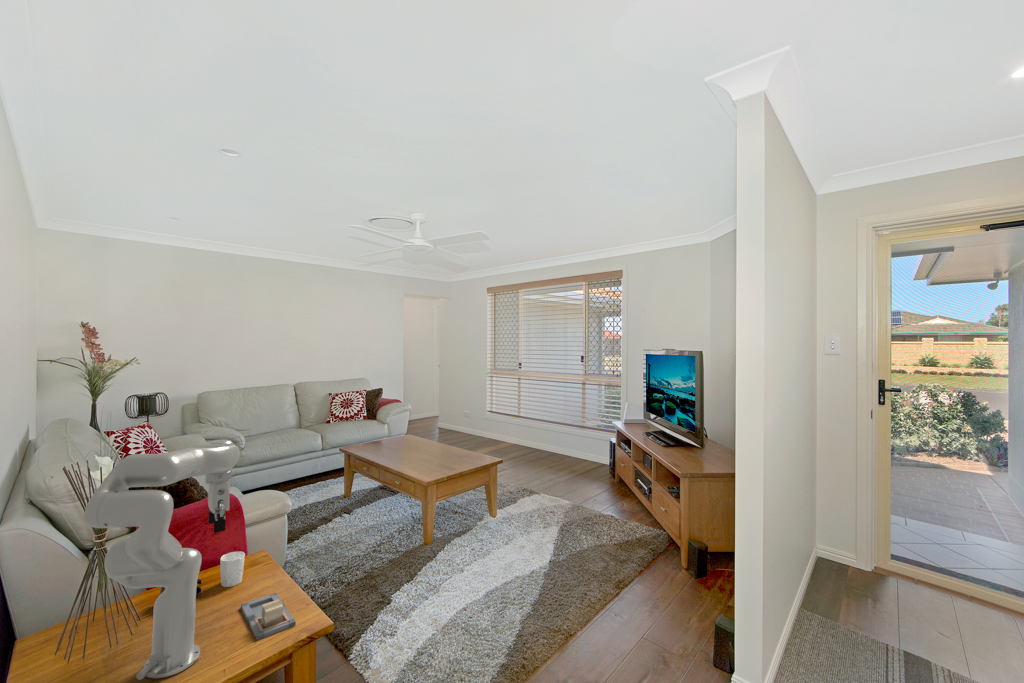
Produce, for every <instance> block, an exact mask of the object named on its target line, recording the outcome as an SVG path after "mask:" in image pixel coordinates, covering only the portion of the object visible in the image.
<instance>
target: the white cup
mask: <svg viewBox="0 0 1024 683" xmlns="http://www.w3.org/2000/svg"><path fill="white" fill-rule="evenodd" d="M245 557H246V553H245V552H244V551H231V552H227V553H226V554H223V555H221V557H220V558H219V559H220V560H219V561H220V580H221V581H220V586H221V587H222V588H223V587H224V588H229V587H230V588H231V587H234V586H237V585H239V584H240V583H241V582H243V575H244V570H245V569H244V567H245Z"/></svg>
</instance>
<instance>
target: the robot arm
mask: <svg viewBox="0 0 1024 683" xmlns="http://www.w3.org/2000/svg"><path fill="white" fill-rule="evenodd" d="M240 457H241V450H240V448H239V447H238V445H236V444H234V443H233V441H232V439H231V440H230V439H214V440H211V441H209V442H208V443H204V444H203V443H202V444H198V445H195V446H193V447H185V448H181V449H177V450H174V451H169V452H164V453H163V452H162V453H136V454H134V453H133V454H129V455H127V456H125V457H124V458H122V459H121V460H120V461H119V462H118V463H116V465H115V466H114V467H113V468H112V469H111V470H110V472H108V474H107V475H106V477H105V478H104V480H103V481H102V482H101V483H100V485H99V486H98V488H97V489H96V491H95V492H94V493H93V494H92V496H91V498H90V499H89V501H88V502H87V504H86V506H85V508H84V513H83V520H84V522H85V524H86V525H88V526H89V527H91V528H92V529H93V528H94V529H111V528H112V529H115V528H131V527H132V528H133V527H138V528H137V529H136V530H134V532H132V534H131V535H130V536H128V537H123V538H121V539H119V540H117V541H116V542H114V544H112V545H111V546H110V547H109V548H108V551H107V552H106V555H105V557H104V562H103V564H104V565H103V567H104V571H105V573H106V575H107V576H108V577H109V578H110V579H112V580H113V581H115V582H116V583H118V584H120V585H122V586H124V587H125V588H129V589H146V588H162V587H165V590H164V591H163V592H162V593H161V595H160V594H159V596H158V597H157V598H156V599H155V602H154V604H153V612H152V613H153V617H152V637H151V656H149V657H148V660H147V661H146V662H145V664H144V666H143V668H142V669H141V670H140V671H139V672H138V673H136V675H135V676H136V677H135V678H136V679H137V680H138V681H140V680H143V679H144V678H146V677H147V678H149V679H163V678H168V677H171V676H173V675H176V674H179V673H181V672H184V671H185V670H186V669H188V668H189V667H191V666H192V665H194V663H196V661H197V660H198V659H199V657H200V655H201V648H200V646H199V645H197V644H195V629H196V628H195V626H196V625H195V624H196V605H197V604H196V602H197V598H196V588H197V586H198V583H197V580H198V579H199V574H200V570H201V566H202V559H203V558H202V554H201V552H200V551H199V550H198V549H196V548H192V547H191V548H190V547H182V544H181V543H180V541H178V540H177V538H176V537H174V536H173V535H172V534H171V533H170V532H169V528H170V525H171V521H172V516H173V514H174V513H173V511H174V507H175V506H174V498H173V497H172V495H171V494H170V493H168V492H166V491H164V490H159V489H135V490H134V489H133V490H132V489H130V490H129V488H142V487H143V488H147V487H148V488H149V487H151V488H152V487H164V486H165V487H166V486H169V485H172V484H174V483H177V482H179V481H183V480H186V479H188V478H193V477H194V478H195V477H199V476H203V475H205V477H204V478H205V480H204V483H205V484H207V485H208V493H207V494H208V495H207V506H208V510H209V512H208V525H211V524H213V533H214V534H216V533H221V532H225V531H226V525H227V523H226V522H227V521H226V520H227V518H226V512H228V511H230V482H231V481H232V476H233V467H235V466H236V465H237V463H238V462H239V460H240Z"/></svg>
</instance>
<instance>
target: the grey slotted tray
mask: <svg viewBox="0 0 1024 683" xmlns="http://www.w3.org/2000/svg"><path fill="white" fill-rule="evenodd" d="M278 599H279V600H280V602H281V603H282V605H283V622H282V623H279V624H276V625H274V626H271V627H268V628H266V629H264V628H263V626H262V624H261V616H262V605H263V604H266V603H269V602H272V601H275V600H278ZM240 609H241V612H242V613H243V615H244V617H245V620H246V622H247V623H248V625H249V628H250V629H251V631H252V633H253V636H254V637H255V639H256V641H258V640H261V639H263V638H267V637H269V636H272V635H274V634H277V633H279V632H282V631H284V630H288V629H290V628H292V627H295V626H296V624H297V623H296V620H295V618H294V617H293V615H292V614H291V612H290V611H289V609H288V608H287V606H286V605H285V603H284V602H283V601H282V599H281V598H280V596H279V595H278V594H277V592H275V593H272V594H269V595H266V596H263V597H259V598H257V599H253V600H251V601H248V602H245V603H241V604H240Z"/></svg>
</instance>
